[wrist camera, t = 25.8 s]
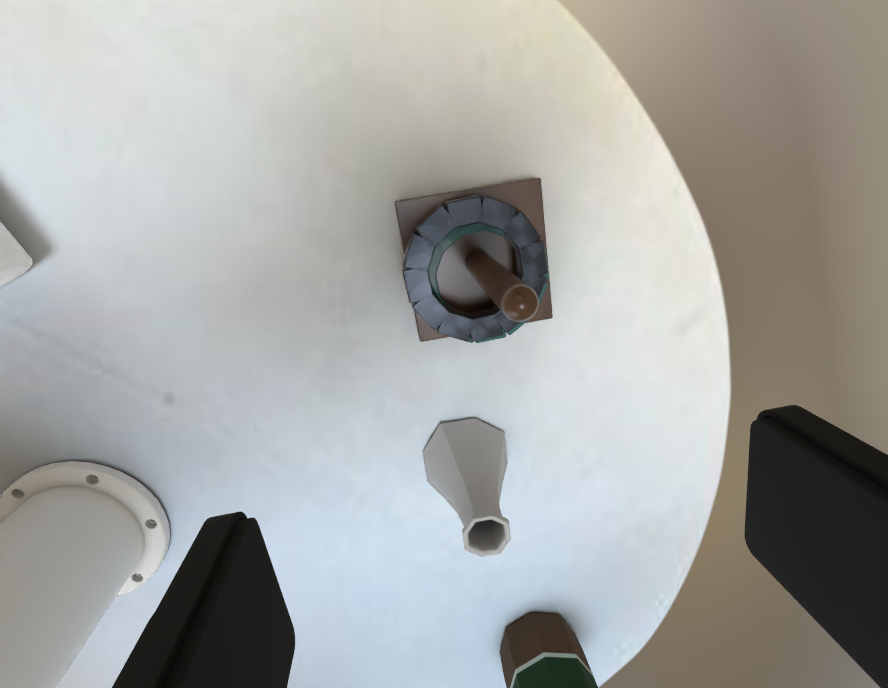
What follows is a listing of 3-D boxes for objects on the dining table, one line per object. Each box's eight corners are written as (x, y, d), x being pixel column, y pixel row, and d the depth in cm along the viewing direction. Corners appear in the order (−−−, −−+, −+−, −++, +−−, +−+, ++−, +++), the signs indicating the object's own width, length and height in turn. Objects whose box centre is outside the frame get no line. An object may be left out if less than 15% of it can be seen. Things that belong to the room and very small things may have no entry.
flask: (431, 410, 40) (443, 482, 30) (516, 422, 41) (554, 495, 31) (414, 487, 42) (421, 576, 32) (496, 496, 43) (526, 586, 33)
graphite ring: (419, 345, 34) (421, 353, 33) (389, 212, 31) (389, 214, 30) (547, 318, 35) (554, 324, 33) (529, 183, 32) (536, 183, 30)
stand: (419, 336, 37) (434, 423, 24) (394, 201, 34) (396, 214, 21) (546, 313, 38) (632, 386, 24) (534, 177, 35) (625, 175, 21)
